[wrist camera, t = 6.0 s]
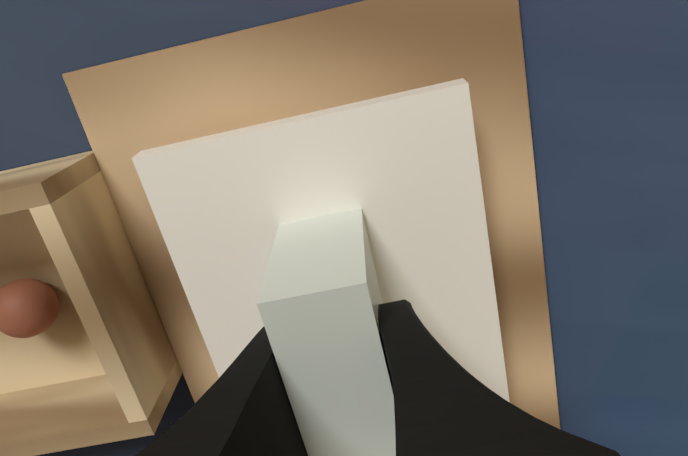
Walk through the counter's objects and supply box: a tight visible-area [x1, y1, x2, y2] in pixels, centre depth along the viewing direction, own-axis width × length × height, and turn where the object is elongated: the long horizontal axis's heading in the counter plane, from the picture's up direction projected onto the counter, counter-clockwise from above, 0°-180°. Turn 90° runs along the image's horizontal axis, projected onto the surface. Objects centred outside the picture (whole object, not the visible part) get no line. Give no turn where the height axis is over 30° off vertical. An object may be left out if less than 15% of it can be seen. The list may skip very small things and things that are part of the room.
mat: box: [62, 0, 560, 429], centre depth 16 cm, size 14×11×1 cm
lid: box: [132, 78, 510, 456], centre depth 13 cm, size 8×11×5 cm
